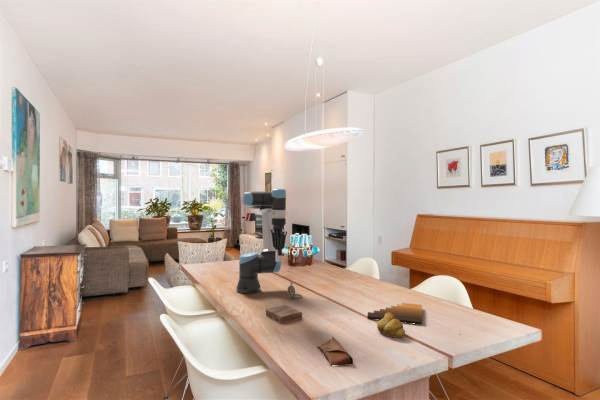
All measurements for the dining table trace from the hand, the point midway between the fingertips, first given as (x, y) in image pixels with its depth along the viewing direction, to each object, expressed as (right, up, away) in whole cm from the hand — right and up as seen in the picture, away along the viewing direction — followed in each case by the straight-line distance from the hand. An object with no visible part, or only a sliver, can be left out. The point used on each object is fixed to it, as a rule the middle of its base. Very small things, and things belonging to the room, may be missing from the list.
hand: (278, 261), depth 187 cm
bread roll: (+51, -25, -37) cm, 68 cm away
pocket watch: (+8, -25, +17) cm, 31 cm away
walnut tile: (-1, -23, -10) cm, 25 cm away
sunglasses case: (+24, -26, -57) cm, 67 cm away
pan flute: (+60, -26, -11) cm, 66 cm away
